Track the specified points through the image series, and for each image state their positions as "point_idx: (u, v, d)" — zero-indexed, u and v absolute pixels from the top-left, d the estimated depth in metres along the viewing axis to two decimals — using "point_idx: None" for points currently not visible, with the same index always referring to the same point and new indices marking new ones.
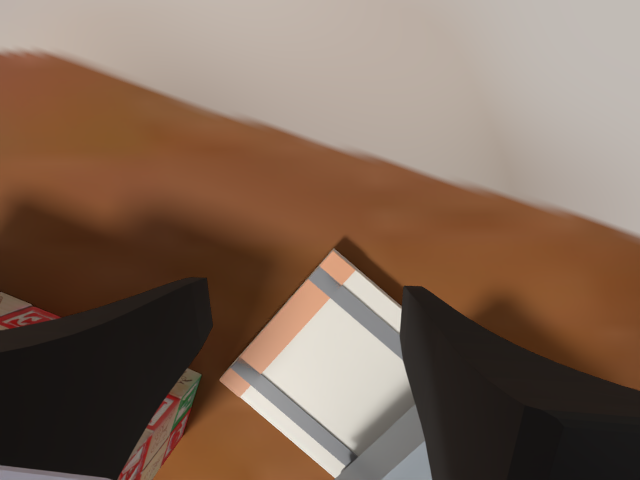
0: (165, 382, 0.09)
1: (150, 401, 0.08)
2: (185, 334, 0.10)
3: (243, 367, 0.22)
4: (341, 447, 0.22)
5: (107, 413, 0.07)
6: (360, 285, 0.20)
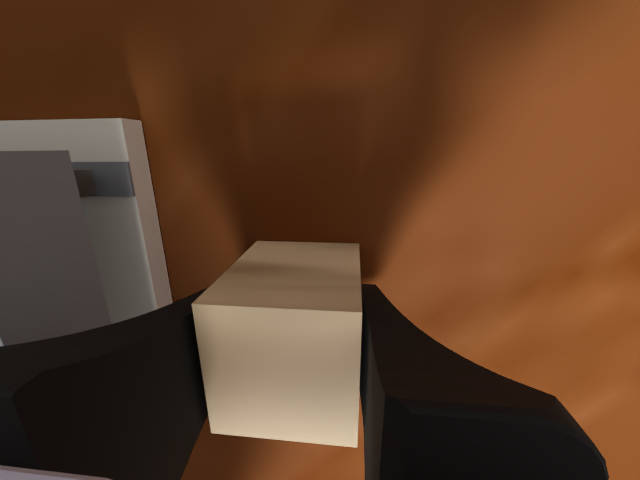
0: None
1: (203, 406, 0.08)
2: None
3: None
4: None
5: (170, 419, 0.07)
6: None
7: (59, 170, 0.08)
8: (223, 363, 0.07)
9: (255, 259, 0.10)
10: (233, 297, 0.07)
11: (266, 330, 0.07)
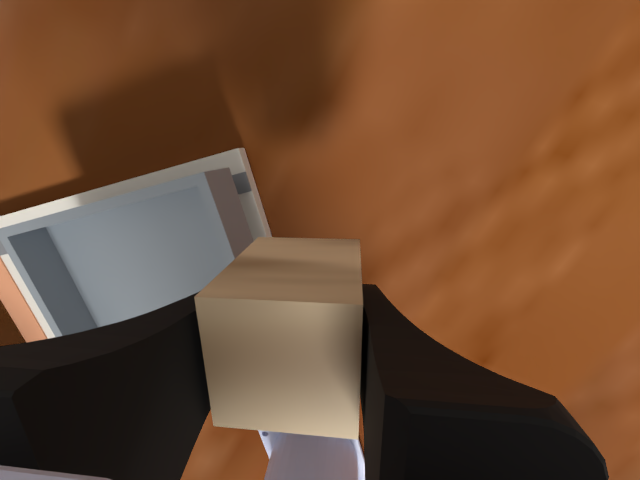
0: None
1: (203, 406, 0.08)
2: None
3: None
4: None
5: (170, 419, 0.07)
6: None
7: (229, 177, 0.16)
8: (225, 356, 0.08)
9: (257, 254, 0.10)
10: (235, 290, 0.07)
11: (268, 322, 0.07)
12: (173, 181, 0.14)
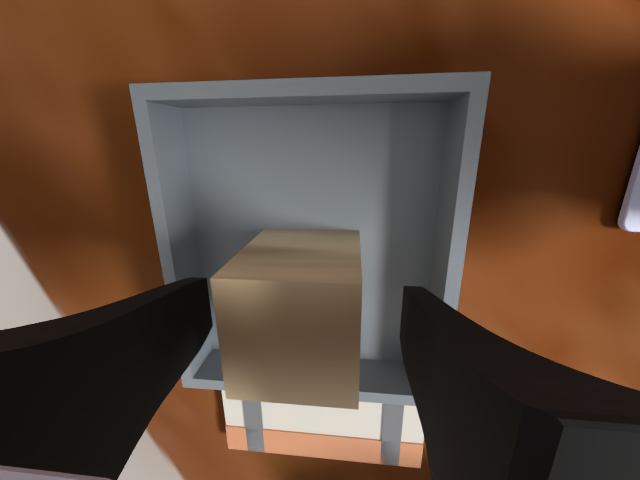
0: (165, 382, 0.09)
1: (150, 401, 0.08)
2: (185, 334, 0.10)
3: (389, 455, 0.20)
4: None
5: (107, 413, 0.07)
6: (232, 414, 0.20)
7: None
8: (238, 333, 0.08)
9: (264, 243, 0.11)
10: (247, 273, 0.08)
11: (276, 301, 0.08)
12: (139, 135, 0.10)
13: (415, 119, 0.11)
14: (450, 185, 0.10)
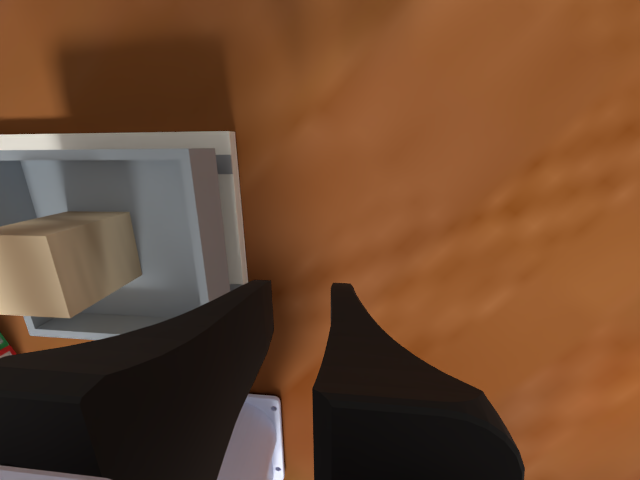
0: (243, 388, 0.09)
1: (234, 409, 0.08)
2: (257, 338, 0.09)
3: None
4: None
5: (208, 422, 0.07)
6: None
7: (212, 157, 0.16)
8: (16, 248, 0.13)
9: (105, 230, 0.16)
10: (60, 252, 0.13)
11: (45, 274, 0.13)
12: (157, 150, 0.14)
13: None
14: None
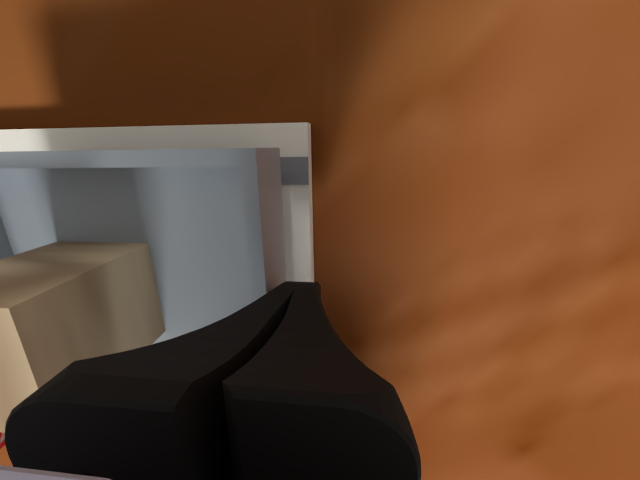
0: None
1: None
2: None
3: None
4: None
5: None
6: None
7: (277, 162, 0.11)
8: None
9: (113, 278, 0.10)
10: (37, 330, 0.08)
11: (10, 369, 0.08)
12: (202, 150, 0.08)
13: None
14: None
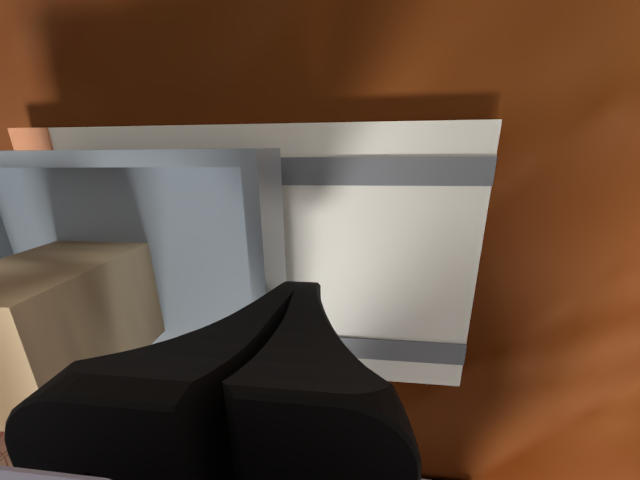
0: None
1: None
2: None
3: None
4: None
5: None
6: (68, 139, 0.14)
7: (277, 163, 0.11)
8: None
9: (113, 277, 0.10)
10: (37, 329, 0.08)
11: (11, 368, 0.08)
12: (202, 151, 0.08)
13: None
14: None
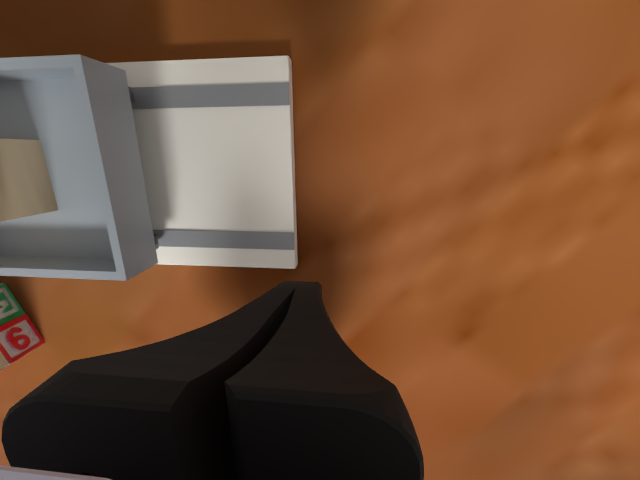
0: None
1: None
2: None
3: None
4: None
5: None
6: None
7: (121, 79, 0.16)
8: None
9: (4, 151, 0.15)
10: None
11: None
12: (49, 57, 0.14)
13: None
14: (82, 265, 0.17)
